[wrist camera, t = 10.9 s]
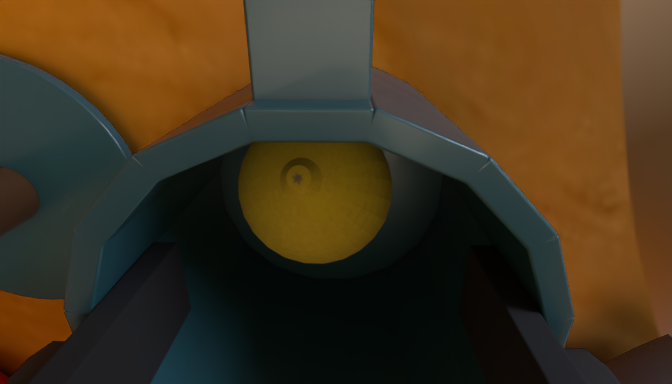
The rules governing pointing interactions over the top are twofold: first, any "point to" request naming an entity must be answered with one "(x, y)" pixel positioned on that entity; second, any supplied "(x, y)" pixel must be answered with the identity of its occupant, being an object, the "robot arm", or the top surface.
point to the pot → (315, 278)
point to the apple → (3, 378)
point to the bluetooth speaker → (645, 363)
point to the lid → (47, 175)
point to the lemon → (315, 197)
